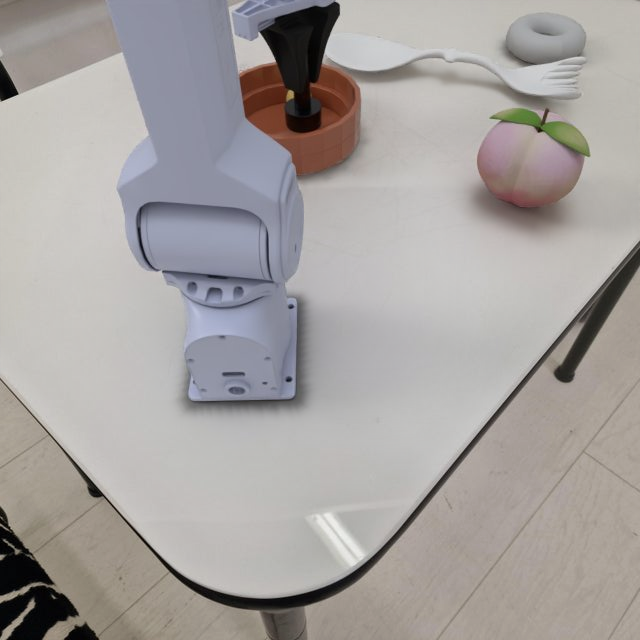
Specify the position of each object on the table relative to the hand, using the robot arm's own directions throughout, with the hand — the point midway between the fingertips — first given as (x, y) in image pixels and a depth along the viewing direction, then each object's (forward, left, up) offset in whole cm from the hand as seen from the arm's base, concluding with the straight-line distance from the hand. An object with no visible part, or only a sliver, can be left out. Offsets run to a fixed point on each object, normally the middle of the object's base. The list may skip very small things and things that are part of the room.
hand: (301, 84), depth 53 cm
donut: (+18, -32, -7) cm, 37 cm away
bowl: (0, +1, -6) cm, 7 cm away
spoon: (+12, -18, -6) cm, 22 cm away
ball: (+5, 0, -4) cm, 6 cm away
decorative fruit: (-11, -21, -7) cm, 25 cm away
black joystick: (0, 0, -4) cm, 4 cm away
